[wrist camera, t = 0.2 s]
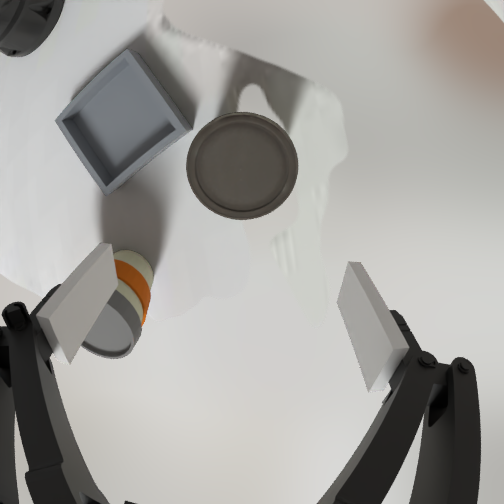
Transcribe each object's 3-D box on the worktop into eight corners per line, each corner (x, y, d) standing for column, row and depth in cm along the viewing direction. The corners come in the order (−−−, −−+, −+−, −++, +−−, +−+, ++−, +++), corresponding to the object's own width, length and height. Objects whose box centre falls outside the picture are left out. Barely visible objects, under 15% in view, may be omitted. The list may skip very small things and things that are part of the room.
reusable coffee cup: (124, 225, 43) (79, 274, 30) (177, 277, 47) (153, 340, 34) (88, 267, 47) (47, 317, 33) (136, 311, 51) (109, 369, 38)
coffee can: (290, 174, 39) (308, 205, 27) (221, 192, 41) (206, 231, 28) (272, 104, 35) (282, 99, 22) (199, 125, 36) (171, 132, 23)
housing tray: (69, 118, 34) (54, 120, 31) (138, 53, 30) (127, 48, 27) (117, 188, 40) (105, 196, 36) (192, 129, 36) (186, 131, 33)
